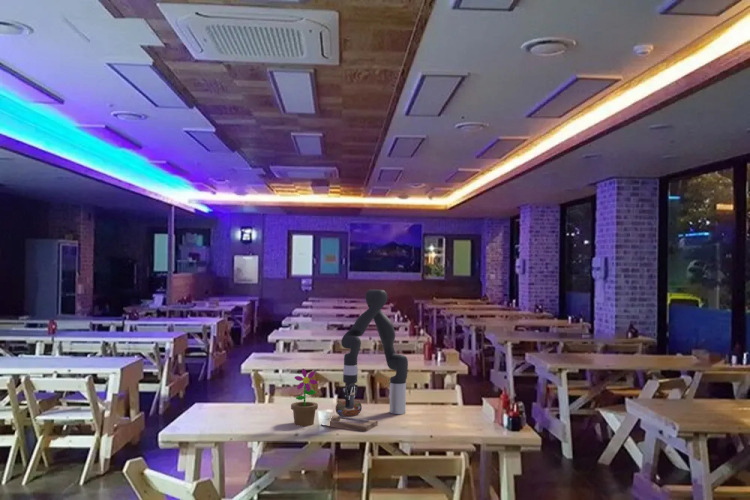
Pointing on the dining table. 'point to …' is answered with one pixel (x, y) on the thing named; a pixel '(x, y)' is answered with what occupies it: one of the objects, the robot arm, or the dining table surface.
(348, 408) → the spool
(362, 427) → the framed panel with rod
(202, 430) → the dining table surface
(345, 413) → the tin
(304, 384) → the flowerpot
